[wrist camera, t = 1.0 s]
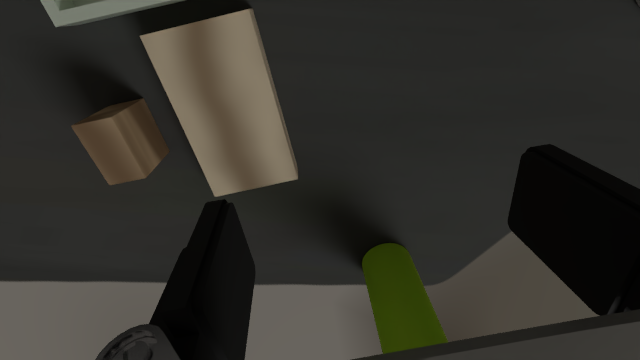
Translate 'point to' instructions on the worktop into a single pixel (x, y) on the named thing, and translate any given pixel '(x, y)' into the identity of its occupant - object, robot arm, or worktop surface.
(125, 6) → the dish
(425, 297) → the soap dispenser
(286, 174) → the board
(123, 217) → the worktop surface
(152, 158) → the block
